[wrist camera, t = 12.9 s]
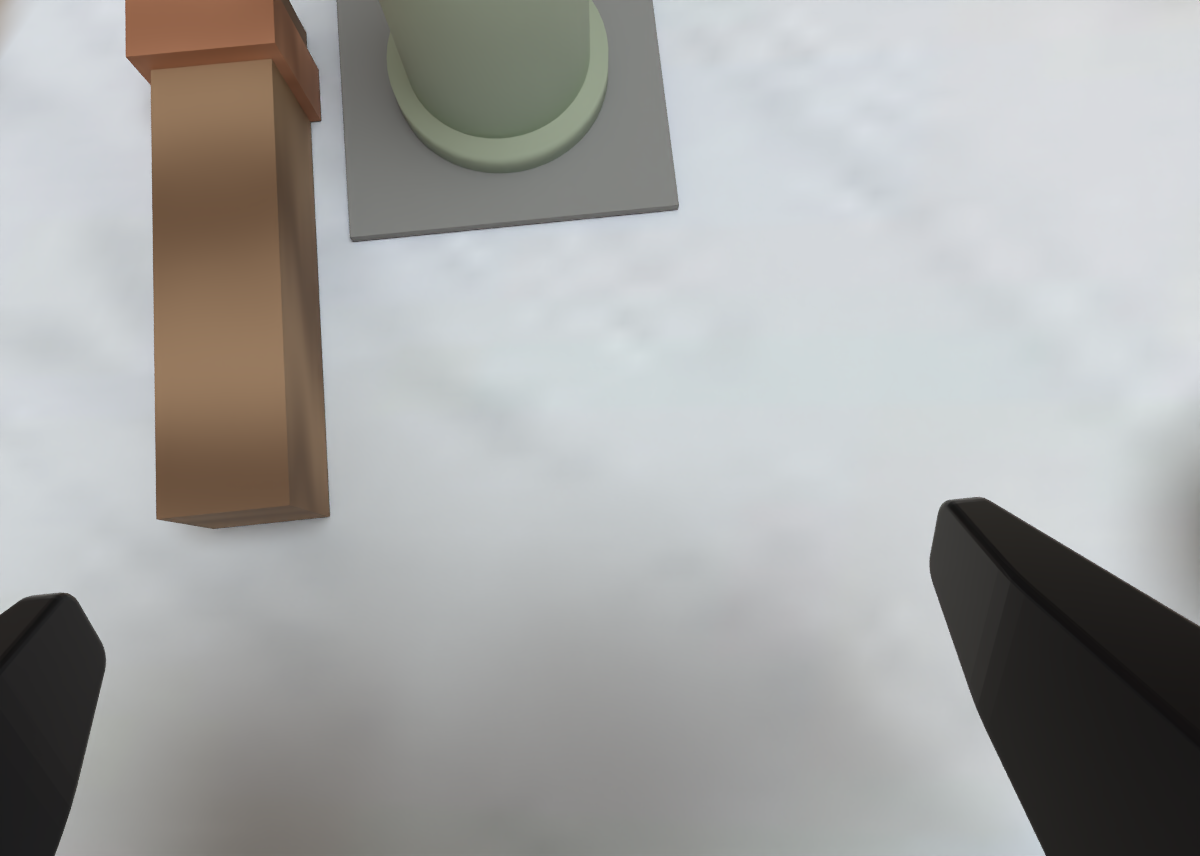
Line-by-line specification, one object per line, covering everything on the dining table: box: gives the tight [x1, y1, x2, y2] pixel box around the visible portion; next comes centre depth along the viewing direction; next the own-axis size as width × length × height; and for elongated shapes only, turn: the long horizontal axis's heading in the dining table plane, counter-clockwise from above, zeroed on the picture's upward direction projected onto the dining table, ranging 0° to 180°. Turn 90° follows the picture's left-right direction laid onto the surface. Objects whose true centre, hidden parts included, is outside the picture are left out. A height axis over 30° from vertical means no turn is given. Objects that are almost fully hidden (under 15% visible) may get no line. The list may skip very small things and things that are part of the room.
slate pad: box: [337, 0, 679, 242], centre depth 25 cm, size 9×9×1 cm
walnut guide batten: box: [125, 0, 330, 529], centre depth 22 cm, size 14×4×4 cm, turn 6°
